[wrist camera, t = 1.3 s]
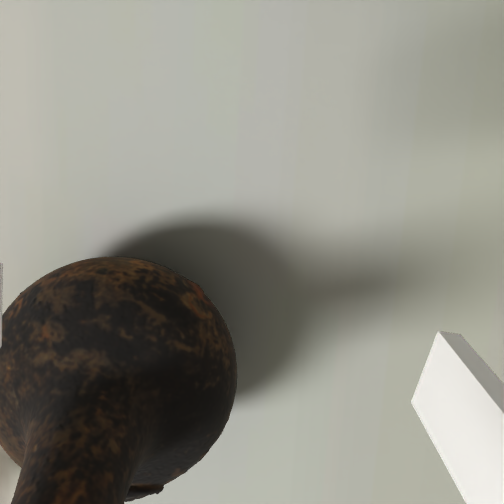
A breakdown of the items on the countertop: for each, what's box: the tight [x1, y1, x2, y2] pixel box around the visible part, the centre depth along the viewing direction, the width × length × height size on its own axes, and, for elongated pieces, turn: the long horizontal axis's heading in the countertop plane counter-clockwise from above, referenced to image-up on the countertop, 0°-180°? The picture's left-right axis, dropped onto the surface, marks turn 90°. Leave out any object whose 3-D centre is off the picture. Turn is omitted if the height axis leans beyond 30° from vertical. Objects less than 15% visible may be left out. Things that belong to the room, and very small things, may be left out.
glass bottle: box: [0, 257, 237, 504], centre depth 28 cm, size 18×18×28 cm
